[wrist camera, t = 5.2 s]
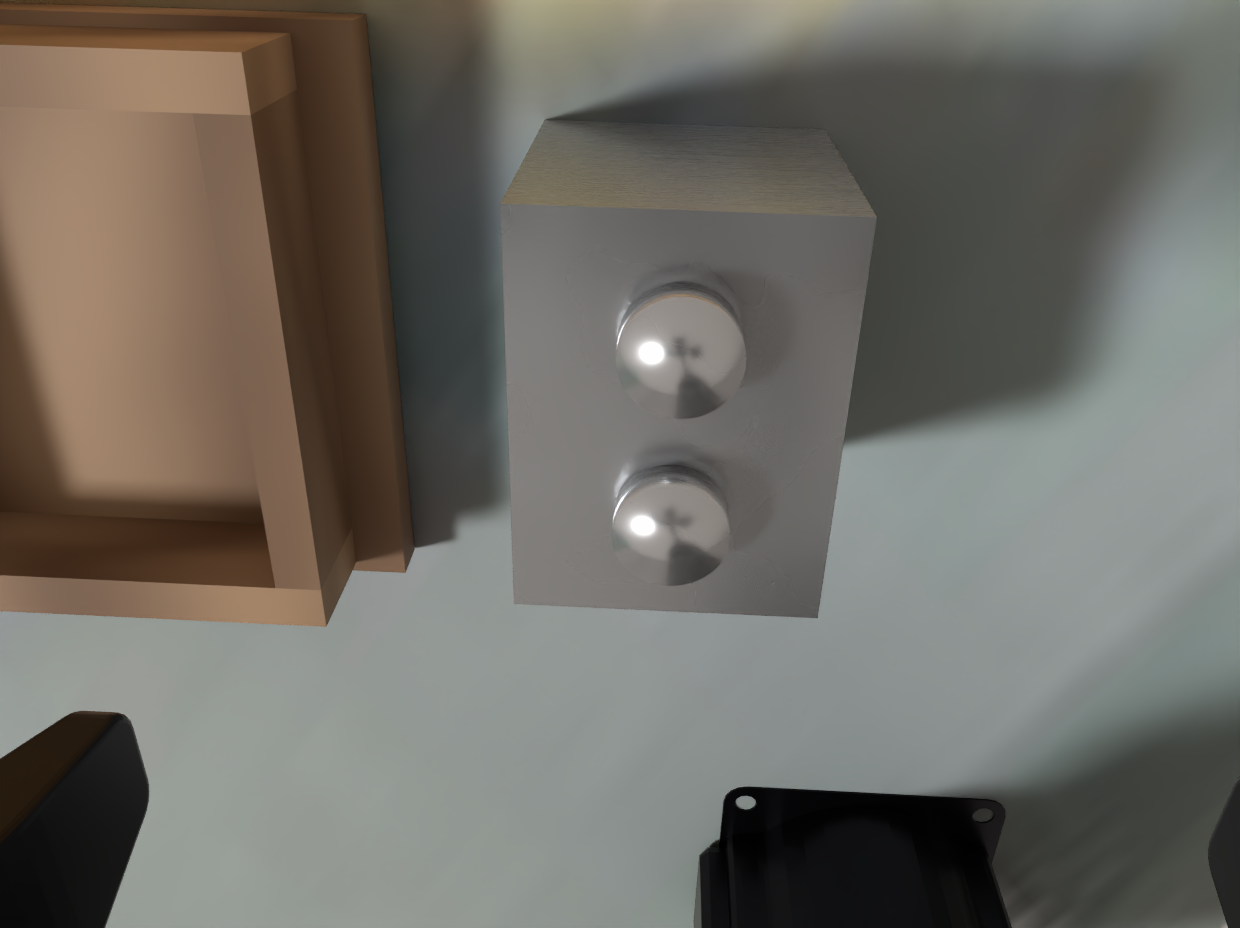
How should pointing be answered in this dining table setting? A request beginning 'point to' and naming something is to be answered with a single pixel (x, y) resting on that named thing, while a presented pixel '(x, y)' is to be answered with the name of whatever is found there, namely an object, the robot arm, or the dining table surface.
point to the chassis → (193, 316)
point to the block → (679, 363)
